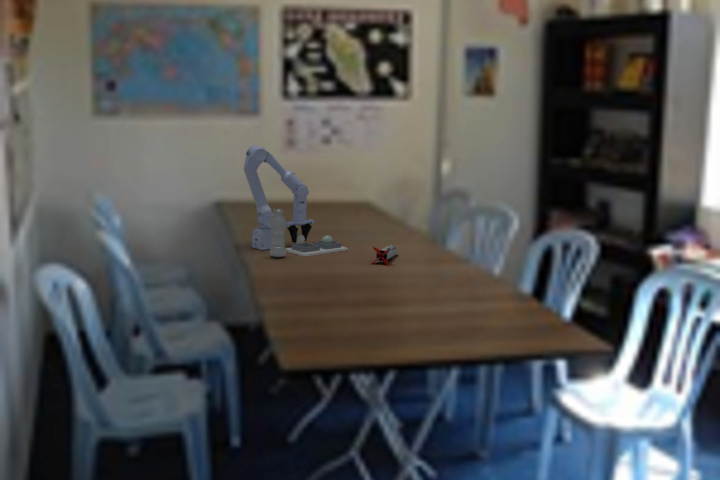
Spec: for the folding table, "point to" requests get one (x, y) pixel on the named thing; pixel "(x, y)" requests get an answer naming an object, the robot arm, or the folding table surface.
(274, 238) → the plastic bottle
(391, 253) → the model rocket
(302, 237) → the ivory ball
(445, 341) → the folding table surface
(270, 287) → the folding table surface
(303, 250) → the ball sorting tray
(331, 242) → the sage ball
